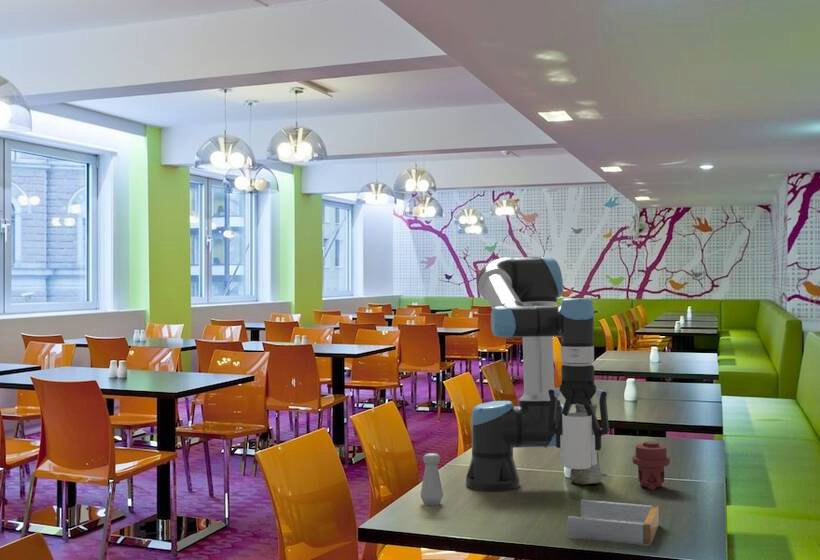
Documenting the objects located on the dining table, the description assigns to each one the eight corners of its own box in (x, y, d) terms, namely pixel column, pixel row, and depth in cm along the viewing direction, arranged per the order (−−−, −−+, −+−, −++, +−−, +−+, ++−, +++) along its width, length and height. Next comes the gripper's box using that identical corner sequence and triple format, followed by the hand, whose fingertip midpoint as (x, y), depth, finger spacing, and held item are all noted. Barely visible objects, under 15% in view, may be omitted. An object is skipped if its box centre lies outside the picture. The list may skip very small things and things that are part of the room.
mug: (592, 470, 196) (591, 417, 196) (562, 469, 197) (561, 416, 197) (592, 461, 205) (591, 410, 205) (563, 460, 207) (563, 410, 207)
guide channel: (567, 537, 194) (567, 517, 194) (582, 518, 209) (581, 499, 209) (650, 546, 187) (650, 525, 187) (658, 525, 203) (658, 506, 203)
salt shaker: (427, 507, 220) (426, 457, 220) (416, 502, 225) (416, 453, 225) (447, 505, 223) (446, 454, 223) (436, 500, 228) (435, 450, 228)
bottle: (582, 487, 240) (581, 387, 240) (563, 480, 248) (563, 383, 248) (608, 484, 244) (607, 385, 244) (589, 477, 252) (588, 382, 252)
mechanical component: (668, 483, 244) (671, 491, 234) (631, 482, 246) (633, 490, 236) (667, 439, 244) (671, 446, 234) (631, 438, 246) (633, 445, 236)
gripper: (532, 364, 201) (534, 463, 201) (617, 366, 194) (618, 469, 194) (540, 361, 208) (541, 457, 208) (622, 363, 201) (623, 462, 201)
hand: (578, 462), depth 201 cm, fingers closed on mug, 6 cm apart
